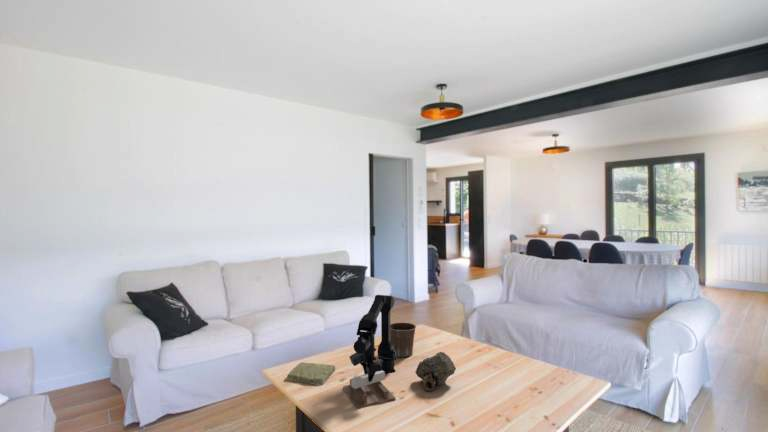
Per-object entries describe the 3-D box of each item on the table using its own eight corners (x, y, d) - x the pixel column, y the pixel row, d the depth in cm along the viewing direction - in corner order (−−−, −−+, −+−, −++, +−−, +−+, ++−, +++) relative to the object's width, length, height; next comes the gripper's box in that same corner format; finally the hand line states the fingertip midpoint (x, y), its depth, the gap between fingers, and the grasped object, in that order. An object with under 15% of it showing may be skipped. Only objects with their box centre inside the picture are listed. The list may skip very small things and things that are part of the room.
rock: (441, 343, 193) (436, 348, 179) (460, 368, 189) (457, 375, 174) (413, 366, 195) (406, 373, 181) (432, 391, 191) (426, 400, 176)
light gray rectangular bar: (380, 377, 183) (380, 369, 182) (384, 379, 180) (384, 371, 180) (351, 386, 173) (351, 378, 173) (355, 388, 171) (355, 380, 171)
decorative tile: (300, 367, 208) (300, 360, 208) (335, 370, 204) (335, 363, 204) (284, 382, 190) (284, 375, 190) (323, 386, 186) (322, 379, 185)
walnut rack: (378, 381, 189) (378, 373, 189) (395, 399, 171) (395, 391, 171) (343, 388, 183) (343, 379, 182) (356, 408, 164) (356, 399, 164)
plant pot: (390, 348, 235) (389, 321, 234) (416, 349, 232) (416, 322, 232) (386, 358, 218) (386, 330, 218) (415, 359, 216) (415, 331, 216)
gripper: (345, 341, 182) (345, 374, 182) (358, 355, 165) (358, 392, 165) (367, 338, 186) (367, 370, 186) (382, 351, 169) (382, 387, 169)
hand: (368, 379), depth 177 cm, fingers closed on light gray rectangular bar, 4 cm apart
